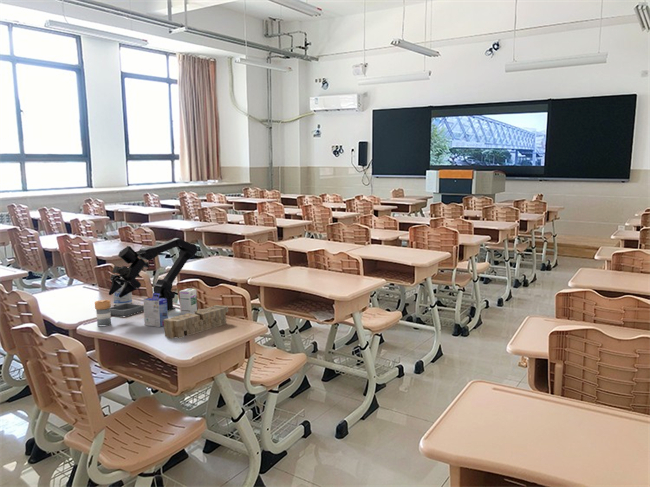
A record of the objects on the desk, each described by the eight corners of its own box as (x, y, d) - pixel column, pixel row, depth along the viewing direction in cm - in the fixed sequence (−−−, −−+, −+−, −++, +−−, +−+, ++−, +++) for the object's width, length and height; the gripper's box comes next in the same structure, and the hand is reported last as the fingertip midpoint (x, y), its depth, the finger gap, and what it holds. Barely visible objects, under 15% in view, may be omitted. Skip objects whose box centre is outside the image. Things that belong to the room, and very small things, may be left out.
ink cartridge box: (169, 324, 226) (167, 293, 225) (160, 327, 221) (158, 296, 220) (152, 322, 231) (150, 292, 229) (144, 325, 226) (141, 294, 224)
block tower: (175, 341, 204) (229, 323, 226) (174, 322, 203) (228, 305, 225) (164, 338, 209) (218, 320, 231) (162, 319, 207) (217, 303, 230)
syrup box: (191, 321, 230) (189, 291, 228) (180, 320, 232) (179, 290, 230) (198, 318, 236) (196, 288, 234) (188, 317, 237) (186, 288, 236)
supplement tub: (114, 307, 262) (112, 280, 261) (112, 303, 271) (110, 277, 269) (133, 304, 267) (131, 278, 265) (131, 301, 275) (129, 275, 273)
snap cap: (113, 306, 229) (113, 300, 229) (101, 310, 223) (101, 303, 223) (104, 305, 232) (103, 298, 232) (92, 308, 226) (91, 301, 226)
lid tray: (143, 311, 252) (143, 305, 252) (124, 317, 241) (123, 311, 241) (126, 308, 258) (126, 303, 257) (106, 314, 247) (106, 308, 247)
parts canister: (114, 323, 230) (112, 306, 229) (103, 326, 225) (101, 309, 224) (105, 322, 232) (104, 305, 232) (94, 325, 227) (93, 308, 226)
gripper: (112, 258, 240) (91, 284, 232) (133, 260, 228) (112, 288, 221) (128, 271, 247) (108, 297, 239) (149, 275, 235) (129, 302, 228)
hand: (114, 295), depth 232 cm, fingers open, 9 cm apart
